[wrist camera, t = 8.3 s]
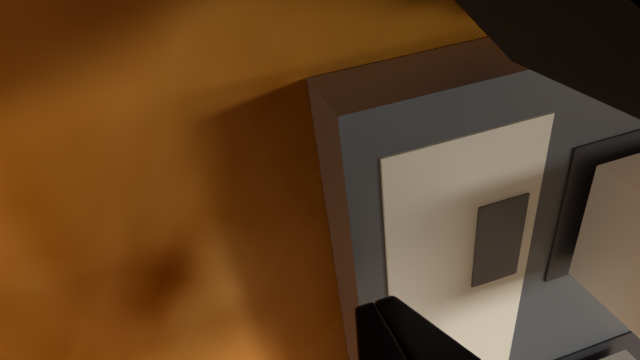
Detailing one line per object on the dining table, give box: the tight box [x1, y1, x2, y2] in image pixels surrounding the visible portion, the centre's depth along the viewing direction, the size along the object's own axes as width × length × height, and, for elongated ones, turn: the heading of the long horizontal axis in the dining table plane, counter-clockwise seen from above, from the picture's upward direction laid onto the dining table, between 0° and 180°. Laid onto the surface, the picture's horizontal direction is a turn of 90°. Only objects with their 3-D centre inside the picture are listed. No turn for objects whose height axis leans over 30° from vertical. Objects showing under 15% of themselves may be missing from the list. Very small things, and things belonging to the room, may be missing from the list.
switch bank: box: [307, 37, 640, 360], centre depth 16 cm, size 20×24×2 cm
